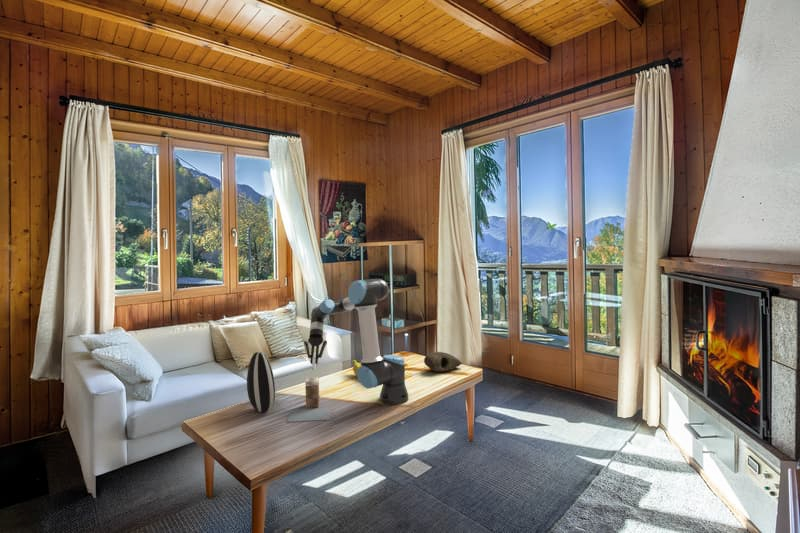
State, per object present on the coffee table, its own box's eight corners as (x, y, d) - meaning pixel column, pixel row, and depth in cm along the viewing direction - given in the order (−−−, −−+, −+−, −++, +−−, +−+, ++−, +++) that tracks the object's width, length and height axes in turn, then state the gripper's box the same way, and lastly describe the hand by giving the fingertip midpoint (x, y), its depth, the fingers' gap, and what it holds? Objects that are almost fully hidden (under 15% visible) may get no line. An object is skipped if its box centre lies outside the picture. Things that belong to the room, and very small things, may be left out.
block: (319, 403, 215) (318, 377, 214) (318, 408, 209) (317, 381, 208) (307, 404, 214) (306, 378, 214) (306, 409, 209) (305, 382, 208)
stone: (448, 353, 282) (464, 357, 270) (444, 371, 280) (460, 376, 269) (422, 347, 267) (437, 351, 256) (417, 366, 265) (433, 371, 254)
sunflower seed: (281, 412, 205) (279, 352, 203) (264, 419, 197) (261, 357, 196) (259, 403, 217) (257, 347, 215) (242, 409, 209) (239, 351, 207)
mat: (332, 408, 209) (332, 407, 209) (329, 420, 195) (329, 419, 195) (291, 410, 207) (291, 409, 207) (286, 422, 193) (286, 421, 193)
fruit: (375, 386, 240) (375, 370, 239) (347, 374, 262) (346, 360, 261) (385, 383, 244) (384, 368, 244) (356, 372, 267) (356, 358, 266)
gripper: (328, 334, 242) (326, 371, 226) (305, 335, 241) (302, 372, 225) (327, 327, 236) (325, 365, 221) (304, 328, 235) (300, 366, 220)
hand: (313, 368), depth 223 cm, fingers closed
